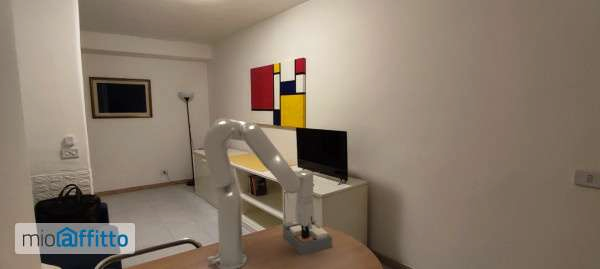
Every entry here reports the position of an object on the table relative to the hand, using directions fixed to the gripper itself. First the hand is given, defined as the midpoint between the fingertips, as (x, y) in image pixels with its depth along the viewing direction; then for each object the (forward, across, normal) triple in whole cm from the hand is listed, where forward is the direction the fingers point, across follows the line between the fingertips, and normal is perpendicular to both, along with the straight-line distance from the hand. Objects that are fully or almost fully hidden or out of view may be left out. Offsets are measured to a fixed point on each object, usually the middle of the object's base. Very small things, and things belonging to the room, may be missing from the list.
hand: (305, 237), depth 129 cm
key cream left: (+1, -8, 0) cm, 8 cm away
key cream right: (+1, 0, +7) cm, 7 cm away
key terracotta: (+2, 0, 0) cm, 2 cm away
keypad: (+5, -5, +3) cm, 8 cm away
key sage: (+2, -7, +7) cm, 11 cm away
